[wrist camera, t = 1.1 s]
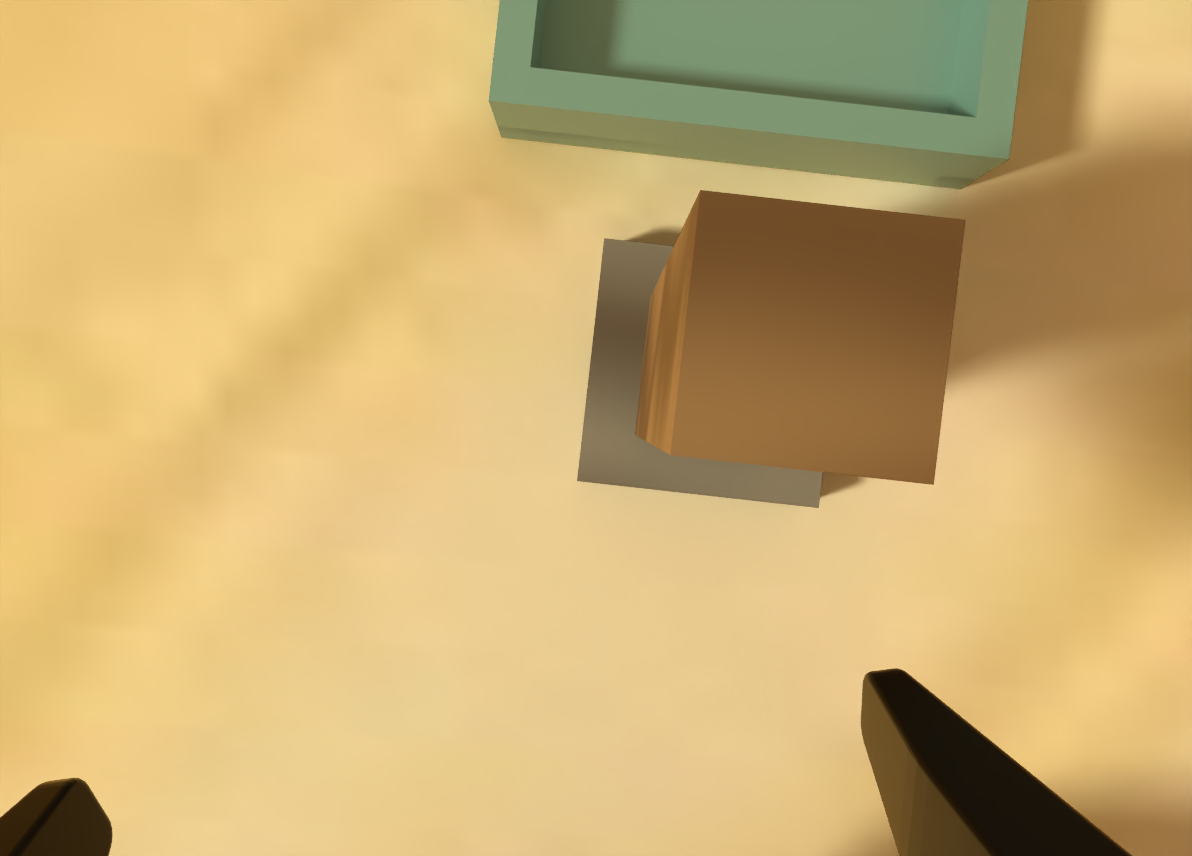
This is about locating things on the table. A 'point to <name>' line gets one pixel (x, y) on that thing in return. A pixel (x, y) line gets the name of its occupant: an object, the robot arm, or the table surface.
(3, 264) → the table surface
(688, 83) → the tray
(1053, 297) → the table surface
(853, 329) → the handle post
